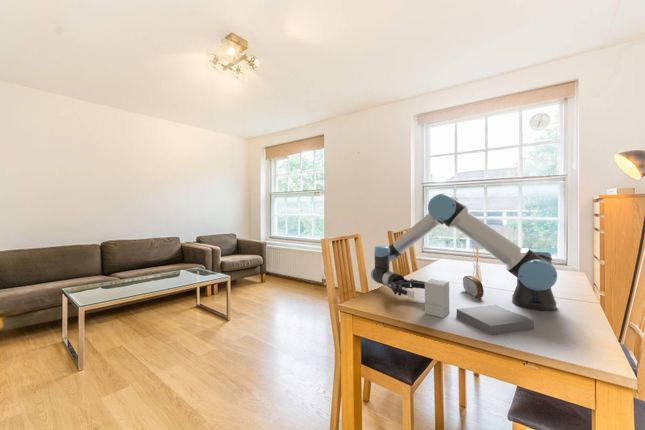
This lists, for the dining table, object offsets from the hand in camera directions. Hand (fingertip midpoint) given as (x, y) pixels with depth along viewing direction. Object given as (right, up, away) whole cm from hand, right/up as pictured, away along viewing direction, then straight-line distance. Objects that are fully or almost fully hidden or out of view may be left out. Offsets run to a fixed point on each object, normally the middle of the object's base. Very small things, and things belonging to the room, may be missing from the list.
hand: (426, 292), depth 116 cm
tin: (+29, -6, +18) cm, 35 cm away
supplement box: (+3, -7, -5) cm, 9 cm away
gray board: (+19, -7, -14) cm, 25 cm away
